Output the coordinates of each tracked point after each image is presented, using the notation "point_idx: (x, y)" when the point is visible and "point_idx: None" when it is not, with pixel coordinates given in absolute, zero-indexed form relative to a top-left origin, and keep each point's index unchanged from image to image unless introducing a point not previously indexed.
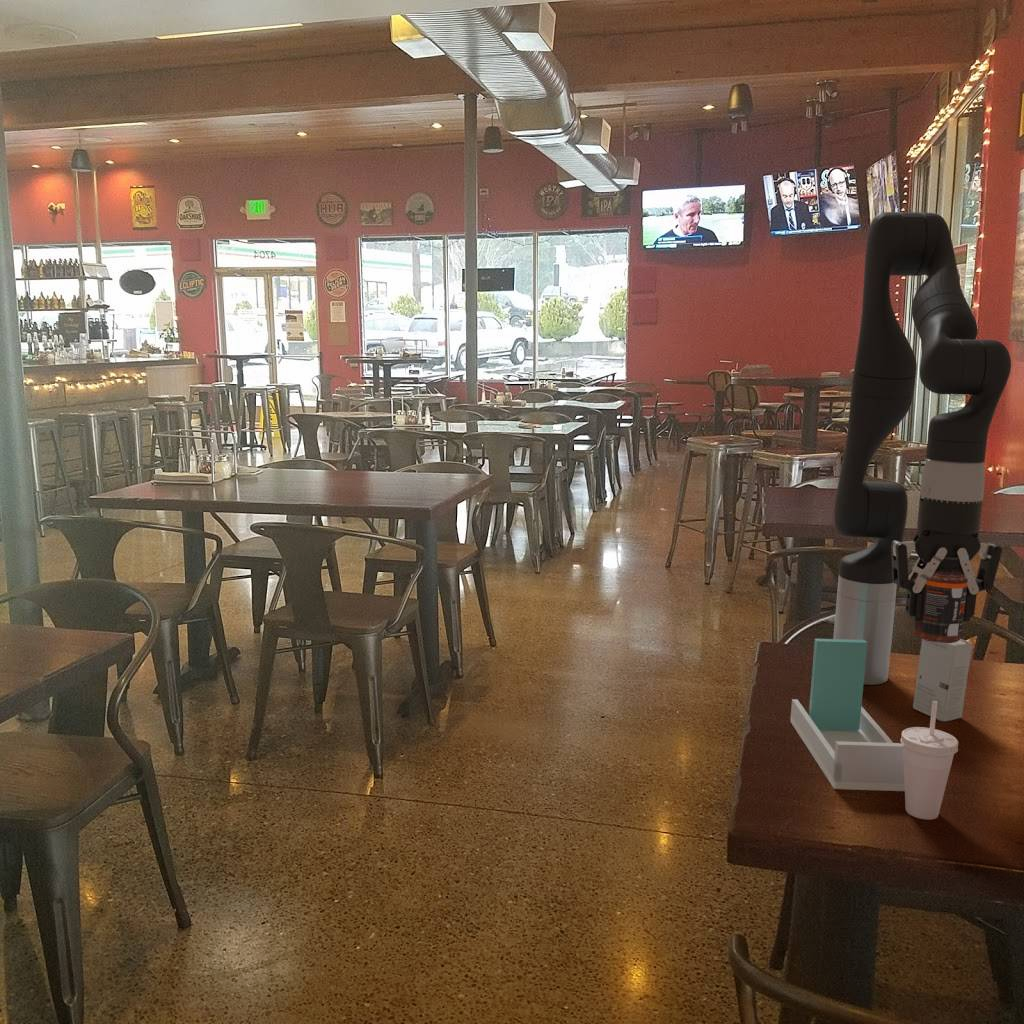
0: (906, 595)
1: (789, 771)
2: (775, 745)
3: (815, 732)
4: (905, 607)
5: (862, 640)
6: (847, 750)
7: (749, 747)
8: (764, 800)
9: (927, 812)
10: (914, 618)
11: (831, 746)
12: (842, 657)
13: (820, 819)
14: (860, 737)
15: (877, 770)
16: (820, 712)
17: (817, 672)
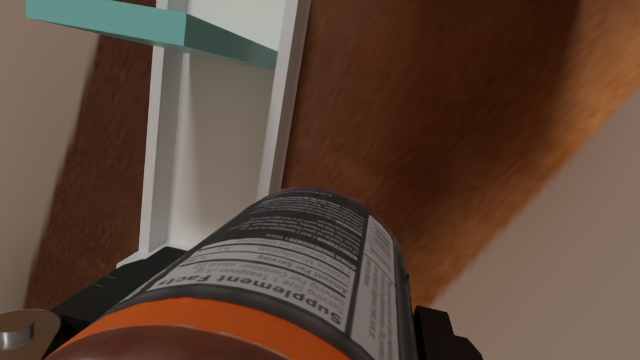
0: (58, 305)
1: (121, 182)
2: (128, 84)
3: (147, 141)
4: (116, 270)
5: (177, 18)
6: None
7: (85, 88)
8: (65, 257)
9: None
10: None
11: (199, 129)
12: (142, 40)
13: None
14: (268, 97)
15: None
16: (186, 52)
17: (112, 36)
